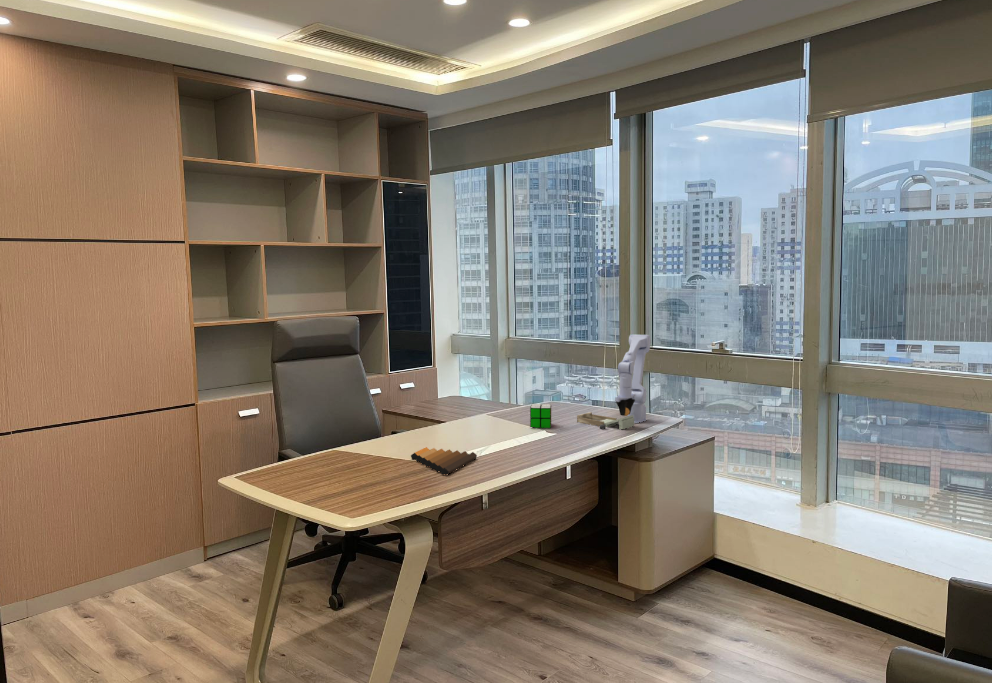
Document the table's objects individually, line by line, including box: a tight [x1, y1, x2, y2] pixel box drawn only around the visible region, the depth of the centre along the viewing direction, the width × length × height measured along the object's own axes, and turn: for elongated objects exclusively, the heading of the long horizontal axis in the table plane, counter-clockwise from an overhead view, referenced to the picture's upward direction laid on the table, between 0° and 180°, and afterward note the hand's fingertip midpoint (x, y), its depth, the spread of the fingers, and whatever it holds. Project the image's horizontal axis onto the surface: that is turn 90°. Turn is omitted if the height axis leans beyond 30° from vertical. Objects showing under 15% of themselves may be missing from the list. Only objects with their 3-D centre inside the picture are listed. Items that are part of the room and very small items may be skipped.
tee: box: [599, 425, 607, 430], centre depth 338 cm, size 3×3×2 cm
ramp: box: [602, 415, 635, 430], centre depth 344 cm, size 10×16×6 cm, turn 46°
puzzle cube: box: [529, 403, 552, 429], centre depth 345 cm, size 10×10×10 cm
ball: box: [624, 408, 630, 417], centre depth 339 cm, size 4×4×4 cm
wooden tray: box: [576, 411, 618, 427], centre depth 352 cm, size 11×16×4 cm
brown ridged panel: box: [410, 446, 478, 475], centre depth 278 cm, size 25×3×25 cm
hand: (625, 414), depth 340 cm, fingers closed on ball, 4 cm apart
